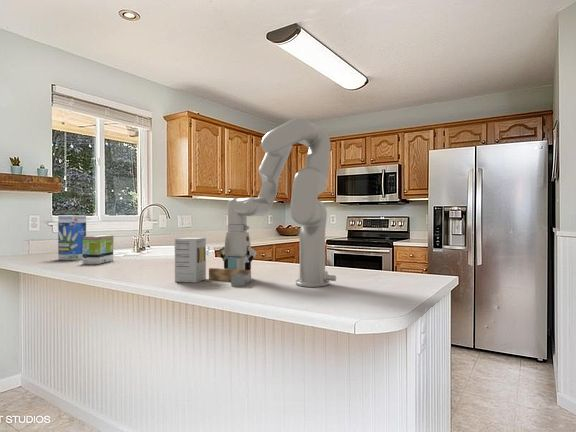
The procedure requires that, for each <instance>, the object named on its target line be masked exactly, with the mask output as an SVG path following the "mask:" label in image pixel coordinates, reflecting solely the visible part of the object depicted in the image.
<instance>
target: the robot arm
mask: <svg viewBox="0 0 576 432" xmlns="http://www.w3.org/2000/svg"><path fill="white" fill-rule="evenodd" d="M295 144H301V145H302V146H303V145H304V146H306V147H307V148H308V151H307V154H306V157H305V158H306V159H305V167H302V168H300V169H299V170H298V171H297V172H296V173H295V175H294V178H293V181H292V187H291V188H292V189H291V199H290V209H289V210H290V217H291V219H292V220H293V221H294V223H296V224H298V225H300V228H299V244H298V246H299V278H298V279H296V280H295V284H296V286H300V287H306V288H308V287H310V288H317V287H319V288H320V287H326V286H330V283H331V282H337V275H334V274H329V271H328V270H327V271H326V228H327V227H326V226H327V216H328V215H327V214H328V213H327V208H326V205H325V204H324V203H323V202H322V201H321V200H320V199H318V196H319V195H322V194H324V193H325V191H326V189H327V187H328V177H329V166H330V157H331V140H330V137H329V136H328V134H327V133H326V131H325V130H323V129H322V128H321V127H319V126H318V125H316V124H315V123H313V122H312V121H309V120H308V119H306V118H303V117H295V118H292V119H290V120H288V121H286V122H284V123H282V124H281V125H279V126H277V127H275V128H273V129H271V130H269V131H268V132H267V133H265V135H264V136H263V137H262V140H261V142H260V145H261V149H262V151H263V153H265V154H264V156H263V159H262V161H261V163H260V165H259V167H258V174H259V176H260V179H261V189H260V192H259V193H258V195H257V197H255V196H254V197H252V196H251V197H245V198H240V197H238V198H237V197H235V198H234V197H233V198H232V197H231V198H229V199H228V201H227V231H226V233H225V238H224V239H225V240H224V246H223V247H221V248H220V249H218V253H219V256H220V258H221V259H222V261H223V269H228V257H243V258H244V259H245V260H246V262H245V270H252V262H253V260H254V259H255V258H256V255H257V253H258V252H257V251H256V250H255V249H253V248H252V245H251V237H250V233H249V232H248V230H250V226H248V224H247V223H248V221H247V217H251V218H253V217H264V216H266V215H268V213H269V212H270V211H271V209H272V207H273V205H274V203H275V200H276V197H277V193H278V188H279V179H280V177H281V174H282V172H283V169H284V167H285V165H286V163H287V161H288V158H289V156H290V154H291V152H292V149H293V146H294V145H295ZM330 281H331V282H330Z"/></svg>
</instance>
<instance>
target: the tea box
mask: <svg viewBox="0 0 576 432" xmlns="http://www.w3.org/2000/svg"><path fill="white" fill-rule="evenodd" d="M81 260H82V264H84V265H100V264H103V263H108V262H113V261H114V235H110V234H105V235H104V234H103V235H101V234H99V235H96V234H95V235H86V236H84V237H83V257H82V259H81Z"/></svg>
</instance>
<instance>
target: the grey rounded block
mask: <svg viewBox="0 0 576 432" xmlns="http://www.w3.org/2000/svg"><path fill="white" fill-rule="evenodd" d="M251 282H252V272H251V273H239V272H238V273H236V274H234V275H232V276H231V281H230V287H241V288H242V287H243V288H244V287H246V286H248V285H249V284H251Z"/></svg>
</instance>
